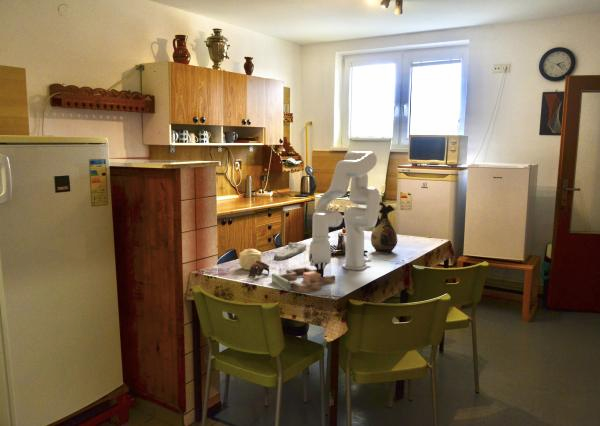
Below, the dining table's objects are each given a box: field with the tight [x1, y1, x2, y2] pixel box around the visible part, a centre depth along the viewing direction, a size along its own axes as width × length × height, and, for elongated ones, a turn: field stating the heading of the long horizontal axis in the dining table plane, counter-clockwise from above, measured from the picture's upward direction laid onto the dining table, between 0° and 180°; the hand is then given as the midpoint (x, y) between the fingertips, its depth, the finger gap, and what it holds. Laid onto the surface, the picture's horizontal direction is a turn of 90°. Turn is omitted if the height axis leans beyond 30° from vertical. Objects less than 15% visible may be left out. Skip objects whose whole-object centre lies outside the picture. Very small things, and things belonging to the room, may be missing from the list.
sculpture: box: [238, 248, 263, 271], centre depth 254 cm, size 11×12×11 cm
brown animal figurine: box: [248, 261, 270, 278], centre depth 241 cm, size 12×10×8 cm
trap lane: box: [271, 266, 336, 294], centre depth 230 cm, size 26×27×4 cm
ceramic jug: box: [370, 201, 398, 255], centre depth 289 cm, size 17×15×30 cm
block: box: [302, 271, 321, 284], centre depth 231 cm, size 6×6×4 cm
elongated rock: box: [273, 241, 307, 261], centre depth 288 cm, size 35×5×10 cm
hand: (320, 276), depth 234 cm, fingers closed
